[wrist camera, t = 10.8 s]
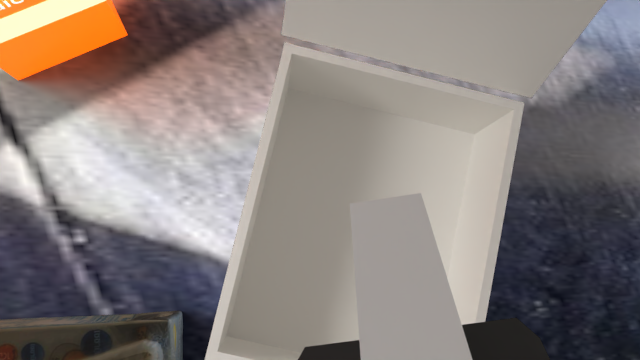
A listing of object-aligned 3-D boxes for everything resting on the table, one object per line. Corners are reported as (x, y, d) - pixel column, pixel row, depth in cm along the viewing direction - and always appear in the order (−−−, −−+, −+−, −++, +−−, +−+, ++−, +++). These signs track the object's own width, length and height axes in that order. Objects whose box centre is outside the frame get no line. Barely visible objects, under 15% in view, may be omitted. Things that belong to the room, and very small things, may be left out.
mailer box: (431, 389, 43) (467, 418, 35) (217, 341, 42) (204, 359, 34) (480, 130, 46) (524, 102, 38) (282, 81, 45) (284, 42, 37)
